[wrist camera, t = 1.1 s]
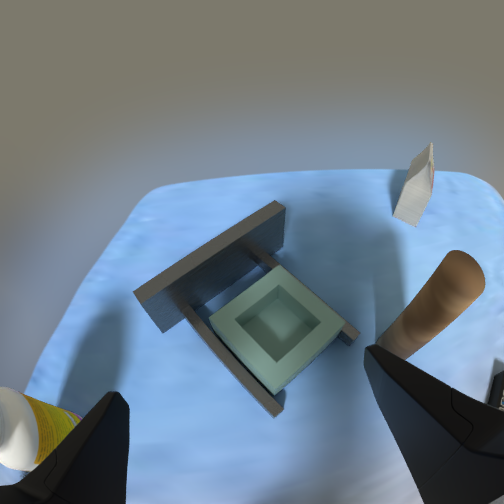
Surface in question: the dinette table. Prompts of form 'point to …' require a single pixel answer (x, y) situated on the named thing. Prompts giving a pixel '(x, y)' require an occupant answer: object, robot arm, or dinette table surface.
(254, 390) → the rail and backstop frame
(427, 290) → the walnut dowel
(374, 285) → the dinette table surface
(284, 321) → the sliding socket block
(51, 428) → the supplement bottle
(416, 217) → the gable top carton
